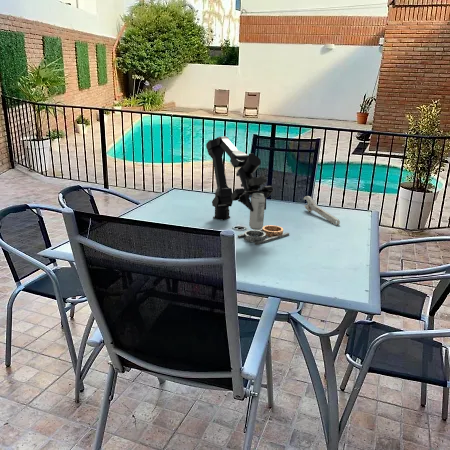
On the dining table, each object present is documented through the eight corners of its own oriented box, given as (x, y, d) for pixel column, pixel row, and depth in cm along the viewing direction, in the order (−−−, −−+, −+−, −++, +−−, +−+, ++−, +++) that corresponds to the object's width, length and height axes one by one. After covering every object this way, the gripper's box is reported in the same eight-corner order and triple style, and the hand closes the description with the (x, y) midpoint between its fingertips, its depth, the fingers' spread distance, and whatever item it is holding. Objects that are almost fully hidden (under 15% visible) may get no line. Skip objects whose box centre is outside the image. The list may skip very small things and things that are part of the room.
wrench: (335, 231, 210) (301, 208, 234) (338, 230, 210) (304, 207, 235) (338, 216, 206) (304, 194, 231) (341, 215, 207) (306, 194, 232)
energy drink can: (255, 224, 189) (257, 191, 184) (265, 228, 185) (268, 194, 180) (246, 227, 185) (248, 194, 180) (256, 231, 181) (259, 197, 176)
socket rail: (256, 245, 179) (256, 239, 178) (237, 237, 187) (237, 232, 186) (289, 235, 192) (289, 230, 191) (270, 228, 200) (270, 223, 200)
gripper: (235, 170, 176) (247, 202, 170) (273, 167, 184) (286, 198, 179) (225, 184, 185) (237, 216, 179) (262, 181, 193) (274, 211, 188)
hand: (259, 210), depth 181 cm, fingers closed on energy drink can, 6 cm apart
